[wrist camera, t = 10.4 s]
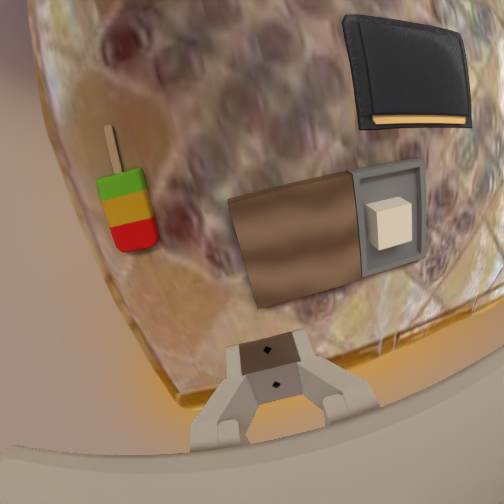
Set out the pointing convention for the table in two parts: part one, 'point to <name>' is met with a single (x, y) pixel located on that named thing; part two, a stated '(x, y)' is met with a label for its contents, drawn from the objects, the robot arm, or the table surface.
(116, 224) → the popsicle
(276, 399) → the robot arm
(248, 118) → the table surface
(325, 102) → the table surface
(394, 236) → the cream rectangular block
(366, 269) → the box
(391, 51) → the wallet
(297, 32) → the table surface
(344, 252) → the ramp
